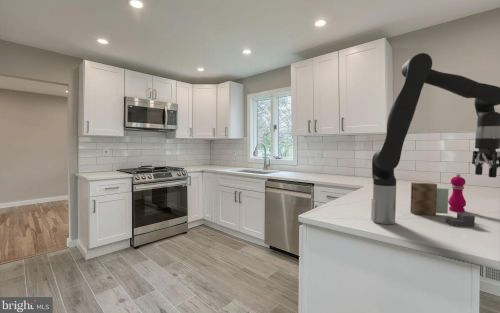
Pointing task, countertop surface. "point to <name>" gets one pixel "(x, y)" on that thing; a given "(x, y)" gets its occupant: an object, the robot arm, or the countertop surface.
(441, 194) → the sliding door
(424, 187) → the brown upright flat box
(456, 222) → the block
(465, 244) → the countertop surface
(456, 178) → the pepper mill
